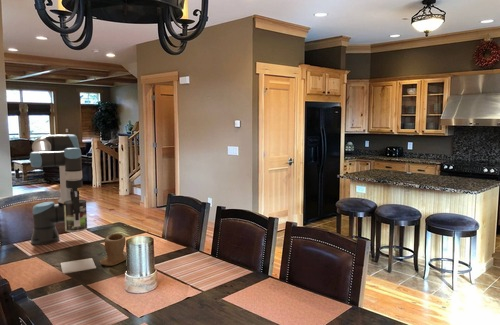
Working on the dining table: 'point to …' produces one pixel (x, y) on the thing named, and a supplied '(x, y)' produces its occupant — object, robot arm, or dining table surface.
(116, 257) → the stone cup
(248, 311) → the dining table surface
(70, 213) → the coffee can
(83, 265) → the grey mat
